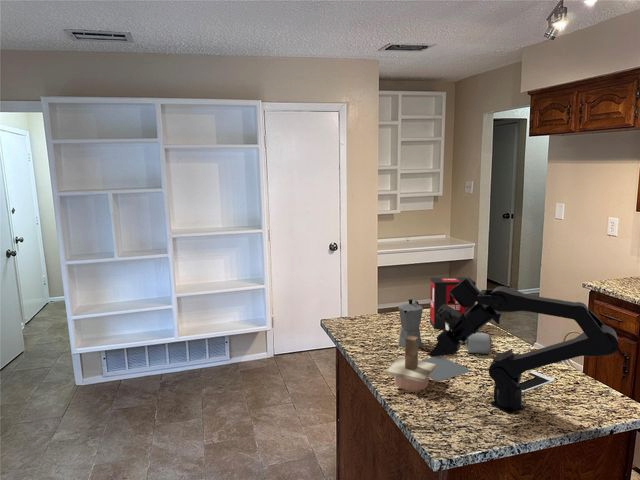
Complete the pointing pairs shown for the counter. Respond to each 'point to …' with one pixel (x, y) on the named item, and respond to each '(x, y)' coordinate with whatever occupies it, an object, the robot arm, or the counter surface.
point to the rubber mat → (445, 368)
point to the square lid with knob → (411, 363)
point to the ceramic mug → (479, 343)
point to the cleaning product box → (444, 298)
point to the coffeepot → (410, 321)
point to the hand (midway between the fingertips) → (434, 350)
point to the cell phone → (535, 381)
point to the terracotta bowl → (410, 384)
